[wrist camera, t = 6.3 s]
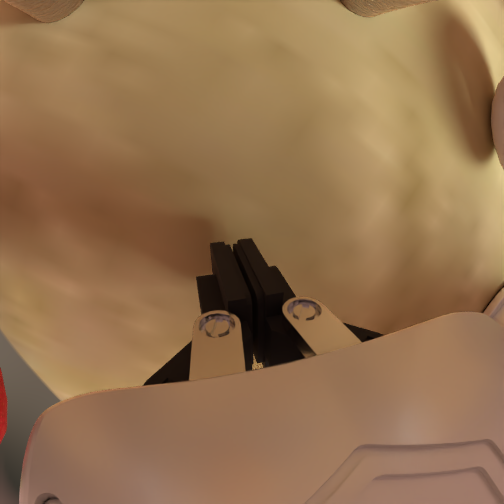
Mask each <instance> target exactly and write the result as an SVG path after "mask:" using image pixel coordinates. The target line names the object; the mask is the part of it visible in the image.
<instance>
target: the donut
mask: <svg viewBox="0 0 504 504" xmlns="http://www.w3.org/2000/svg"><path fill="white" fill-rule="evenodd" d="M491 128H492V135H493V143H494V146H495V149H496V152H497V155H498V158H499V161H500V164H501V166H502V167H503V169H504V77H503V78H502V79H501V81H500V82H499V83H498V86H497V89H496V92H495V95H494V98H493V101H492V111H491Z"/></svg>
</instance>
